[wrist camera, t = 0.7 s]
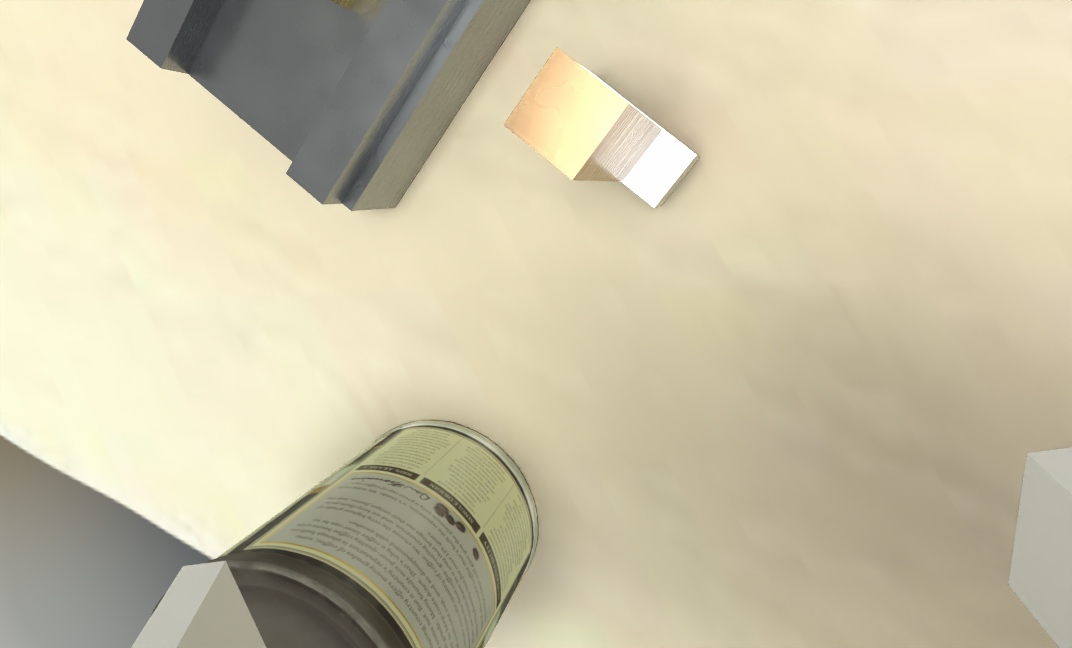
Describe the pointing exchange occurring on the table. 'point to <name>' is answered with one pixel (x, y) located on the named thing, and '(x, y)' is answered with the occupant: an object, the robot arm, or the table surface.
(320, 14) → the slot bed
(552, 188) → the table surface
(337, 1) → the yellow cube
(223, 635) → the robot arm
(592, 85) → the hammer
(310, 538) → the coffee can
